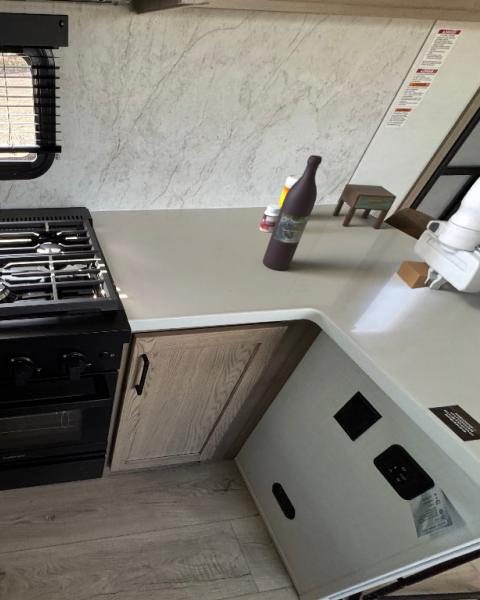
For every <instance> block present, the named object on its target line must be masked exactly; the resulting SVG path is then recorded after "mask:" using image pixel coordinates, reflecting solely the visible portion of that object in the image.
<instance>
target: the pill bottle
mask: <svg viewBox="0 0 480 600" xmlns="http://www.w3.org/2000/svg"><path fill="white" fill-rule="evenodd" d="M280 210H281V207H280V206H278V204H273V203H272V204H271V203H270V204H268V205H267V206H266V210H265V211H264V212H263V217H262V219H261V222H260V226H259V230H260V231H261V232H264V233H272V232H273V230H274V227H275V224H276V221H277V218H278V215H279V212H280Z"/></svg>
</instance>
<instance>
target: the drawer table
mask: <svg viewBox="0 0 480 600" xmlns="http://www.w3.org/2000/svg"><path fill="white" fill-rule="evenodd" d="M396 199H397V195H395V194H394V193H392V192H391V191H389V190H388V189H387V188H385V187H383V185H371V184H353V183H346V184H345V186H344V189H343V190H342V192H341V194H340V197H339V199H338V201H337V203H336V206H335V208H334V211H333V213H332V216H333V217H339V215H340V213H341V211H342V208H343V206H344V204H346V205H348V207H349V209H348V212H347V214H346V216H345V218H344V220H343V221H342V224H341V226H343V227H346V228H348V227H349V226H350V223H351V221H352V220H353V218H354V215H355V213H356V211H357V210H363V212H362V214H361V218H362V219H368V217H369V215H370V214H371V211H380V213H379V214H378V217H377V218H376V221H374V224H373V226H372V228H373V229H374V230H380V228H381V226H382V224H383V223H384V221H385V219H386V217H387V215H388V213H389V212H390V210H391V208H392V206H393V205H394V202H395V201H396Z"/></svg>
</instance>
